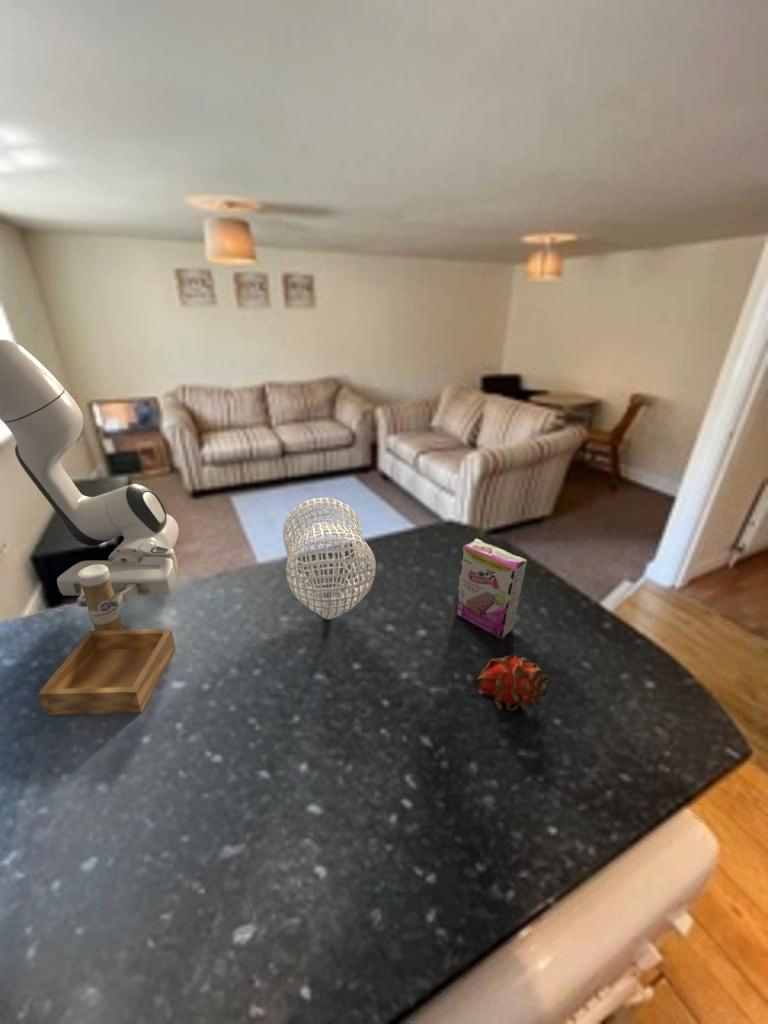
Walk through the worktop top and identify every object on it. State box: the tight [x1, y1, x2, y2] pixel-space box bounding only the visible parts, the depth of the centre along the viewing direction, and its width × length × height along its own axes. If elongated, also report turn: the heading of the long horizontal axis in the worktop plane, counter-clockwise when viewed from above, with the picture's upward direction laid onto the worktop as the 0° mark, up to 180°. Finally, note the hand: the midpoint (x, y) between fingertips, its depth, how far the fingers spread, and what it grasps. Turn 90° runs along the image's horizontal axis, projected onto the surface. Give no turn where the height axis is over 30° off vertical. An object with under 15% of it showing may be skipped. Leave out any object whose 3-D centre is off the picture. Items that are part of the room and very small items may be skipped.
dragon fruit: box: [471, 653, 550, 712], centre depth 71 cm, size 8×8×12 cm
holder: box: [37, 629, 176, 716], centre depth 73 cm, size 14×14×4 cm
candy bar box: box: [454, 538, 528, 638], centre depth 86 cm, size 11×5×16 cm, turn 46°
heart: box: [282, 497, 377, 620], centre depth 86 cm, size 28×16×22 cm, turn 14°
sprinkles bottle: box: [78, 565, 124, 631], centre depth 80 cm, size 5×5×13 cm
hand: (98, 603), depth 79 cm, fingers closed on sprinkles bottle, 4 cm apart
